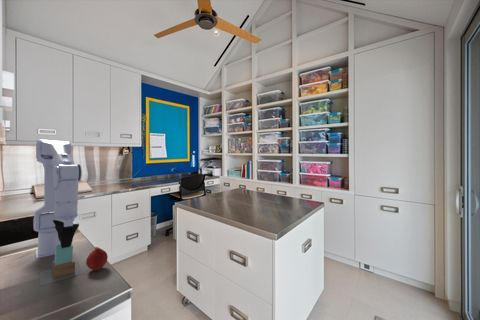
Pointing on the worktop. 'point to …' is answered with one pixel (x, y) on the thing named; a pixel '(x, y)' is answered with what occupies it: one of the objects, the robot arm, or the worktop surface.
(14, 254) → the worktop surface
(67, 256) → the teal block
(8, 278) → the worktop surface
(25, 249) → the worktop surface
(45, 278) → the mat
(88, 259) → the red round piece
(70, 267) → the walnut block
